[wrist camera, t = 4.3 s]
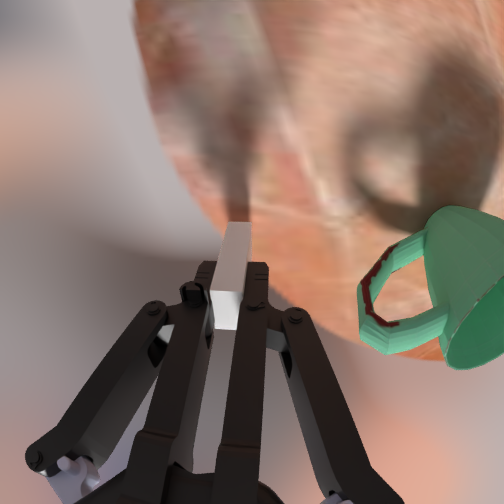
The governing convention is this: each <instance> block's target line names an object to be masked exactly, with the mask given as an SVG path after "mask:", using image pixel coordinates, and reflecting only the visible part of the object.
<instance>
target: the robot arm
mask: <svg viewBox="0 0 504 504" xmlns="http://www.w3.org/2000/svg"><path fill="white" fill-rule="evenodd" d="M268 277H269V267H268V266H267V264H266V263H265V262H252V222H228V225H227V229H226V232H225V236H224V239H223V243H222V246H221V250H220V254H219V257H218V261H203V262H202V263H201V265H199V267H198V270H197V273H196V276H195V279H194V281H190V282H187V283H185V284H183V285H182V286H181V287H180V289H179V290H180V294H181V298H182V303H180V304H177V305H172V306H167V307H166V305H165V303H163V302H161V301H151V302H148V303H147V304H145V305H144V306H143V307H142V309H141V310H140V311H139V313H138V314H137V315H136V316H135V318H134V319H133V320H132V322H131V323H130V324H129V325H128V327H127V328H126V329H125V331H124V332H123V333H122V335H121V336H120V337H119V338H118V340H117V341H116V343H115V344H114V345H113V346H112V348H111V349H110V351H109V352H108V353H107V354H106V356H105V357H104V359H103V360H102V361H101V363H100V364H99V365H98V367H97V368H96V370H95V371H94V372H93V374H92V375H91V376H90V378H89V379H88V381H87V382H86V383H85V385H84V386H83V388H82V389H81V391H80V392H79V393H78V395H77V396H76V398H75V399H74V401H73V402H72V404H71V405H70V407H69V408H68V410H67V411H66V413H65V414H64V416H63V417H62V419H61V420H60V422H59V423H58V424H57V426H56V427H54V428H53V429H52V430H50V431H49V432H48V433H46V434H45V435H44V436H42V437H41V438H40V439H39V440H37V441H35V442H34V443H33V444H31V445H30V446H29V447H28V448H27V450H26V453H25V460H26V463H27V465H28V466H29V468H30V469H31V470H33V471H34V472H36V473H39V474H41V475H43V476H45V477H46V478H47V480H48V482H49V483H50V485H51V486H52V488H53V489H54V491H55V492H56V494H57V495H58V497H59V498H60V500H61V501H62V503H63V504H284V503H283V501H282V500H281V499H280V498H279V497H278V496H277V494H276V493H275V492H274V491H273V490H271V488H270V487H268V486H267V485H265V484H263V483H262V482H260V481H258V478H259V464H260V449H261V431H262V415H263V397H264V377H265V358H266V348H270V349H273V350H276V351H278V352H279V356H280V359H281V363H282V366H283V369H284V373H285V376H286V379H287V383H288V386H289V390H290V393H291V396H292V400H293V403H294V407H295V410H296V413H297V417H298V420H299V423H300V427H301V430H302V433H303V437H304V440H305V443H306V447H307V450H308V453H309V457H310V460H311V463H312V467H313V470H314V473H315V476H316V479H317V482H318V485H319V487H320V489H321V491H322V493H323V495H324V497H325V498H326V499H325V500H323V501H322V502H321V503H320V504H404V501H403V500H402V498H401V497H400V496H399V495H398V494H397V493H396V492H395V491H394V490H393V489H392V488H391V487H390V486H389V485H388V484H387V483H386V482H385V481H384V480H383V479H382V478H381V477H380V475H378V473H377V472H376V471H375V470H374V469H373V468H372V467H371V465H370V462H369V459H368V457H367V454H366V451H365V449H364V447H363V444H362V441H361V438H360V436H359V434H358V431H357V428H356V426H355V423H354V421H353V418H352V415H351V413H350V411H349V408H348V406H347V403H346V401H345V398H344V396H343V393H342V391H341V389H340V386H339V384H338V381H337V379H336V376H335V374H334V371H333V369H332V367H331V364H330V362H329V359H328V357H327V355H326V352H325V350H324V348H323V345H322V343H321V340H320V338H319V336H318V333H317V331H316V329H315V327H314V324H313V322H312V320H311V317H310V315H309V314H308V312H307V311H305V310H304V309H302V308H298V307H292V308H288V309H287V310H285V311H280V310H278V309H275V308H274V307H272V306H271V305H270V304H269V302H268ZM214 323H215V328H216V329H230V330H236V336H235V344H234V350H233V358H232V365H231V372H230V380H229V387H228V394H227V402H226V410H225V417H224V424H223V431H222V439H221V443H220V445H219V447H218V452H217V458H216V466H215V473H205V474H193V473H192V471H193V448H194V442H195V436H196V430H197V425H198V419H199V413H200V408H201V402H202V397H203V391H204V385H205V381H206V375H207V370H208V365H209V359H210V354H211V349H212V344H213V339H214V332H213V328H214ZM157 376H158V379H157V382H156V386H155V389H154V392H153V396H152V399H151V403H150V406H149V410H148V414H147V417H146V421H145V425H144V428H143V429H142V430H140V431H138V432H137V434H136V435H135V438H134V441H133V445H132V449H131V453H130V457H129V461H128V465H127V468H126V469H124V470H123V471H122V472H120V473H119V474H117V475H116V476H115V477H113V478H112V479H111V480H109V481H107V482H106V483H104V484H103V485H102V486H100V487H98V488H97V489H96V490H94V491H93V488H94V486H95V485H96V484H97V483H99V481H100V476H99V474H98V469H99V468H100V467H101V466H102V465H103V464H104V463H105V462H106V461H107V459H108V458H109V456H110V455H111V453H112V452H113V450H114V449H115V447H116V445H117V443H118V442H119V440H120V438H121V437H122V435H123V433H124V431H125V429H126V428H127V426H128V425H129V423H130V421H131V420H132V418H133V416H134V415H135V413H136V411H137V409H138V408H139V406H140V404H141V403H142V401H143V399H144V398H145V396H146V394H147V393H148V391H149V389H150V388H151V386H152V384H153V383H154V381H155V379H156V378H157Z"/></svg>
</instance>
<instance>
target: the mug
mask: <svg viewBox="0 0 504 504" xmlns="http://www.w3.org/2000/svg"><path fill="white" fill-rule="evenodd" d="M422 255H424V264H425V271H426V277H427V283H428V290H429V293H430V297H431V301H432V304H433V308H432V309H429V310H427V311H425V312H423V313H421V314H419V315H417V316H414V317H411V318H406V319H400V320H395V321H389V322H387V321H385V320H384V319H382V318H381V317H380V316H378V315H377V314H376V313H375V312H374V308H373V303H374V301H375V299H376V297H377V296H378V294H379V292H380V290H381V289H382V287H383V285H384V283H385V282H386V280H387V279H388V277H389V276H390V274H391V273H393V272H395V271H397V270H399V269H400V268H402V267H404V266H405V265H407V264H409V263H411V262H412V261H414V260H416V259H417V258H419V257H421V256H422ZM357 302H358V316H359V335H360V340H362V341H364V342H365V343H367V344H368V345H370V346H371V347H373V348H375V349H376V350H378V351H379V352H381V353H383V354H384V355H389V354H393V353H398V352H402V351H406V350H410V349H413V348H415V347H417V346H419V345H421V344H423V343H425V342H427V341H429V340H431V339H434V338H435V337H437V336H438V337H439V343H440V347H441V350H442V353H443V356H444V359H445V361H446V364H447V366H449V367H451V368H453V369H455V370H468V369H472V368H476V367H479V366H482V365H484V364H486V363H488V362H490V361H492V360H494V359H496V358H497V357H499V356H501V355H502V354H503V353H504V220H502V219H500V218H498V217H496V216H493V215H490V214H487V213H484V212H482V211H479V210H476V209H471V208H466V207H461V206H454V205H448V206H445V207H442V208H440V209H439V210H437V211H436V212H434V214H433V215H432V216H431V217H430V218H429V219H428V221H427V223H426V225H425V227H424V229H423V230H421V231H419V232H417V233H415V234H413V235H411V236H409V237H407V238H405V239H403V240H401V241H399V242H397V243H395V244H393V245H391V246H389V247H388V248H387V249H386V250H385V252H384V253H383V254H382V255H381V257H380V258H379V259H378V261H377V262H376V263H375V264H374V266H373V267H372V268H371V269H370V270H369V272H368V273H367V274H366V275H365V277H364V278H363V279H362V280H361V281H360V283H359V284H358V286H357Z"/></svg>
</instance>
